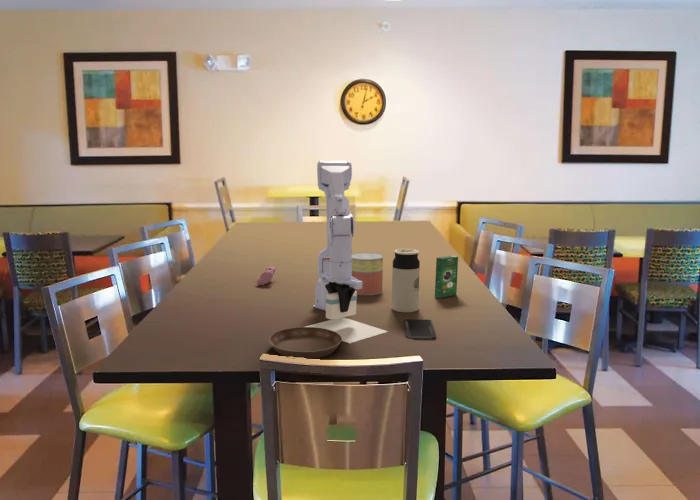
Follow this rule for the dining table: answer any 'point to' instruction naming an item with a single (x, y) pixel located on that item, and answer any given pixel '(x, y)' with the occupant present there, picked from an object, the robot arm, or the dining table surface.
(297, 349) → the plant saucer
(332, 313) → the card deck
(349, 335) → the mat
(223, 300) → the dining table surface
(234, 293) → the dining table surface
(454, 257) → the coffee box
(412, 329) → the phone
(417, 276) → the travel mug
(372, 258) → the canned food
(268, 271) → the pink bird figurine
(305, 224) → the dining table surface
